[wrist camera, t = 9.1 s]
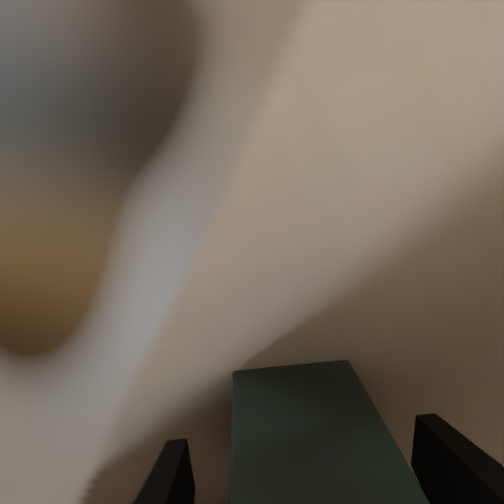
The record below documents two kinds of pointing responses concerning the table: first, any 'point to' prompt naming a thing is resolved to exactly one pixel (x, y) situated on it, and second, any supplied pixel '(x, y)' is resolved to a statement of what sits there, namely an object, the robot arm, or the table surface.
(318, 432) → the block
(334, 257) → the table surface
